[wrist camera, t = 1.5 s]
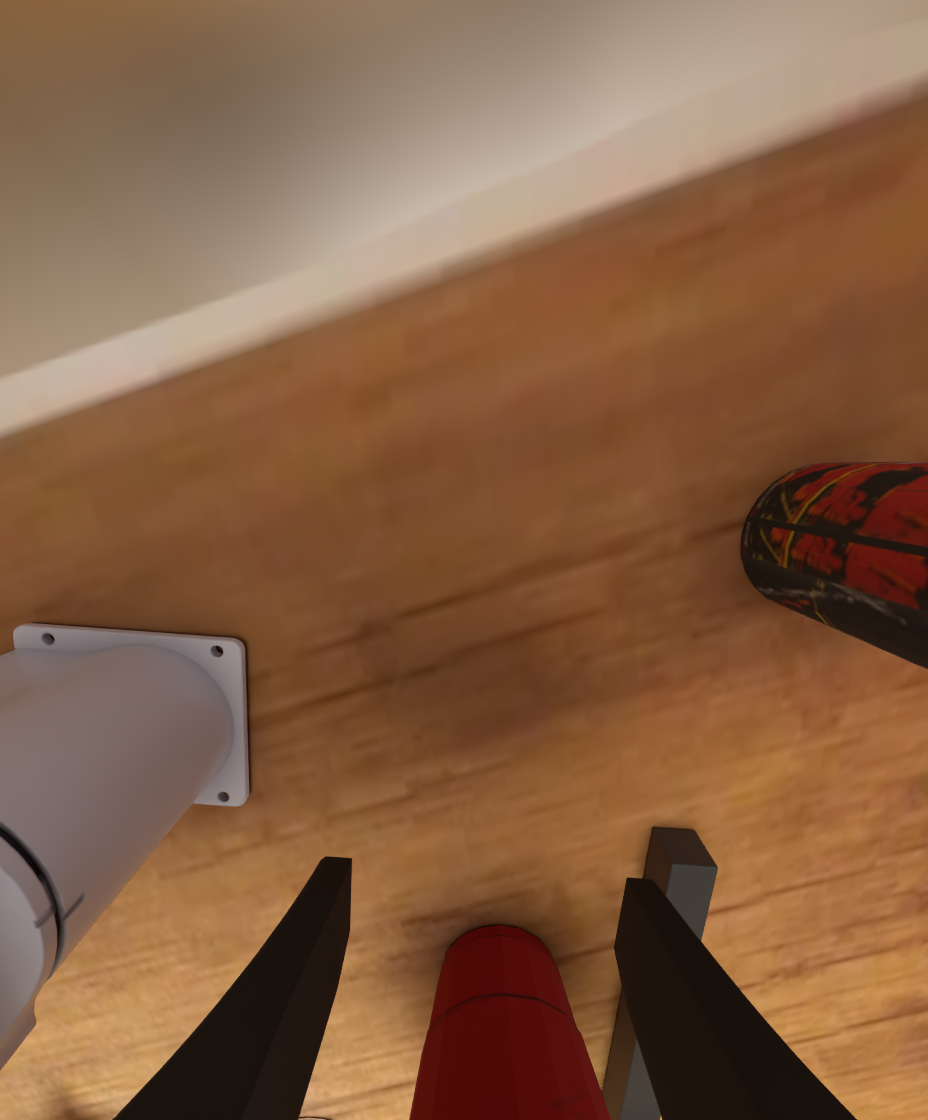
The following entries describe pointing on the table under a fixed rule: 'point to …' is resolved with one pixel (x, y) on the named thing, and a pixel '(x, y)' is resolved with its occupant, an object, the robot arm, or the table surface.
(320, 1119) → the cylindrical container
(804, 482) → the deodorant
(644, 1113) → the rail
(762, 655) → the table surface
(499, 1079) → the plastic cup
